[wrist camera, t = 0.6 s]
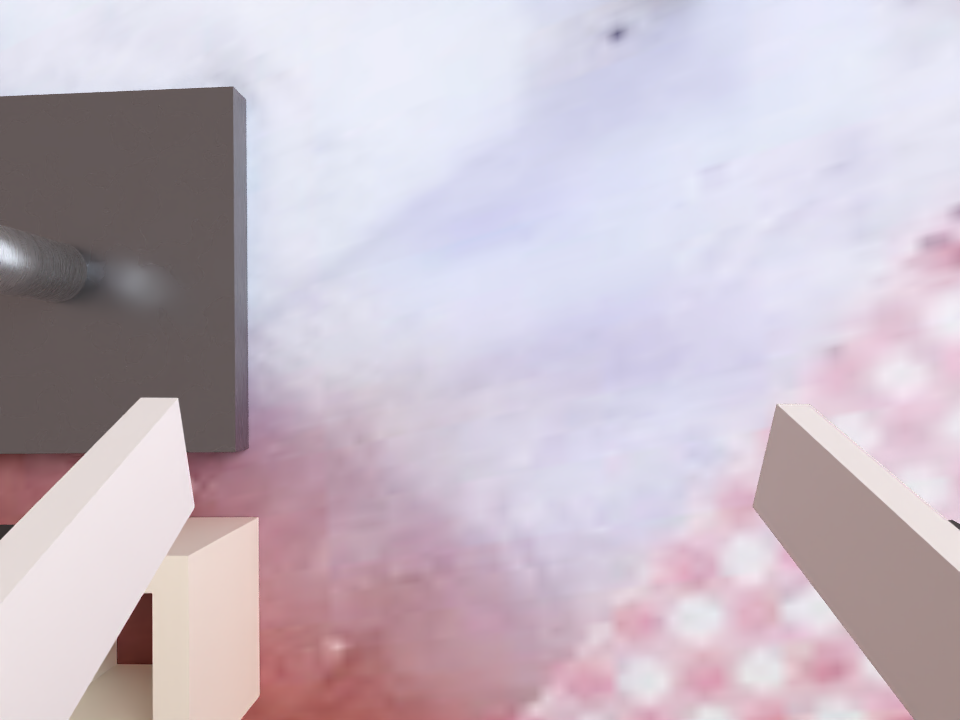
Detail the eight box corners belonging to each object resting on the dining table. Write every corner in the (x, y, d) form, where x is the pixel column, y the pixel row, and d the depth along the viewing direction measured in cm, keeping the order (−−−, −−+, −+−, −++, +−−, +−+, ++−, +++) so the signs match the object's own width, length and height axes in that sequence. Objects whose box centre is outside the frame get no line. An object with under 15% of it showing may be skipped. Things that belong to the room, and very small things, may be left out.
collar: (259, 695, 33) (189, 783, 26) (88, 693, 33) (-26, 777, 26) (258, 517, 33) (188, 555, 26) (88, 517, 34) (-25, 555, 27)
